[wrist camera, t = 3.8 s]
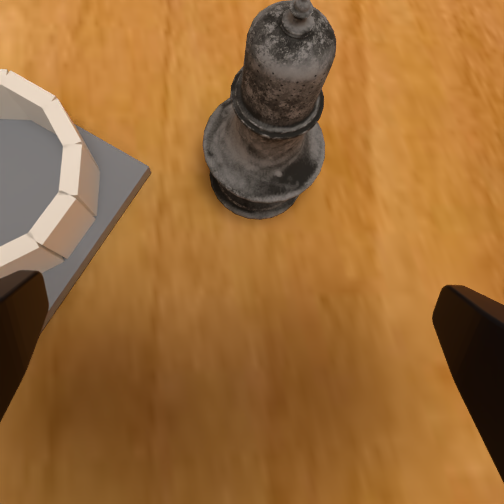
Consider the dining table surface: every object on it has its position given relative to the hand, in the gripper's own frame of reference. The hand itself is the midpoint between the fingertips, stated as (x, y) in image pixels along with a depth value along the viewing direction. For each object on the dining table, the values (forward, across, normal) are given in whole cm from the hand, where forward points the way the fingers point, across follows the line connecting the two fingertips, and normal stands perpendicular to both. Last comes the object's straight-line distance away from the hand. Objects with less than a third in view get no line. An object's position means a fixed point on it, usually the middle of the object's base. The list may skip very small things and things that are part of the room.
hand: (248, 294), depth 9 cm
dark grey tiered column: (+14, -1, +2) cm, 15 cm away
